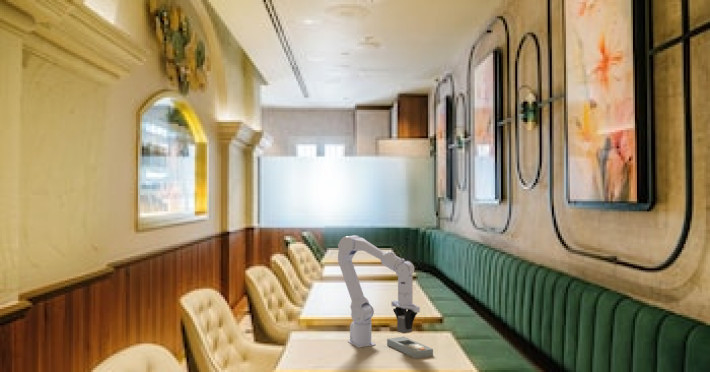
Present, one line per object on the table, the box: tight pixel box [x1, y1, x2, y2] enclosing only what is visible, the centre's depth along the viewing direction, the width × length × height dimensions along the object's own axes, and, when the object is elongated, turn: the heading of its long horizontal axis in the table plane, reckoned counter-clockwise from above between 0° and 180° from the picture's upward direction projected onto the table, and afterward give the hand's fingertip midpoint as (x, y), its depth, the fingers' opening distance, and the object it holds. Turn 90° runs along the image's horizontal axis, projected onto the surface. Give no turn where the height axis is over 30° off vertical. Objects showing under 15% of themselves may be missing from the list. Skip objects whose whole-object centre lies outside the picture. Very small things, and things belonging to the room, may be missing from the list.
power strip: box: [386, 336, 434, 360], centre depth 206 cm, size 20×8×3 cm, turn 28°
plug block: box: [396, 315, 413, 335], centre depth 207 cm, size 4×4×6 cm
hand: (405, 327), depth 207 cm, fingers closed on plug block, 4 cm apart
